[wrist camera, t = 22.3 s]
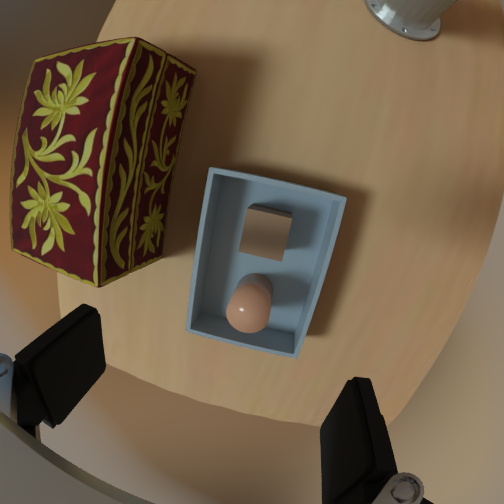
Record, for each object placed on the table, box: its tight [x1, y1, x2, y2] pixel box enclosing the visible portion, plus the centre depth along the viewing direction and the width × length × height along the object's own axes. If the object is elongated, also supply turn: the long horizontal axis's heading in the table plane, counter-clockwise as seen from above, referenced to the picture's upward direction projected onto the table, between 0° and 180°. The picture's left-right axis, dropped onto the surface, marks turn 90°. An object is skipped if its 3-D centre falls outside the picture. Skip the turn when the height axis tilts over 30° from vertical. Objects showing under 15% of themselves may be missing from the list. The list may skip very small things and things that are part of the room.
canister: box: [226, 273, 273, 333], centre depth 35 cm, size 5×5×7 cm
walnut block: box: [238, 203, 292, 262], centre depth 33 cm, size 5×5×5 cm
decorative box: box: [10, 37, 196, 288], centre depth 29 cm, size 28×19×15 cm
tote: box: [186, 167, 347, 359], centre depth 35 cm, size 21×15×6 cm
